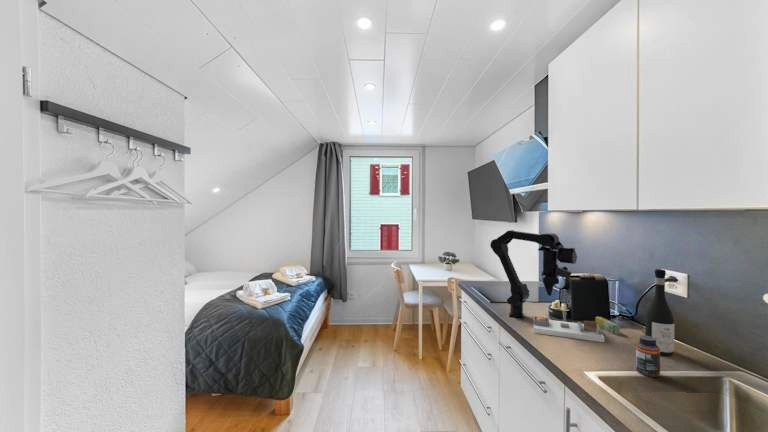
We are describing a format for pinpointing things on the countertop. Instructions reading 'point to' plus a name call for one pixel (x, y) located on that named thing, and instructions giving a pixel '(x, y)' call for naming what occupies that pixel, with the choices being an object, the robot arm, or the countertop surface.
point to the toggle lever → (564, 315)
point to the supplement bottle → (648, 357)
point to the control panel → (567, 330)
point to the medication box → (608, 325)
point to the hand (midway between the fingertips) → (549, 295)
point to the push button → (540, 318)
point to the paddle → (590, 326)
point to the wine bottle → (660, 317)
